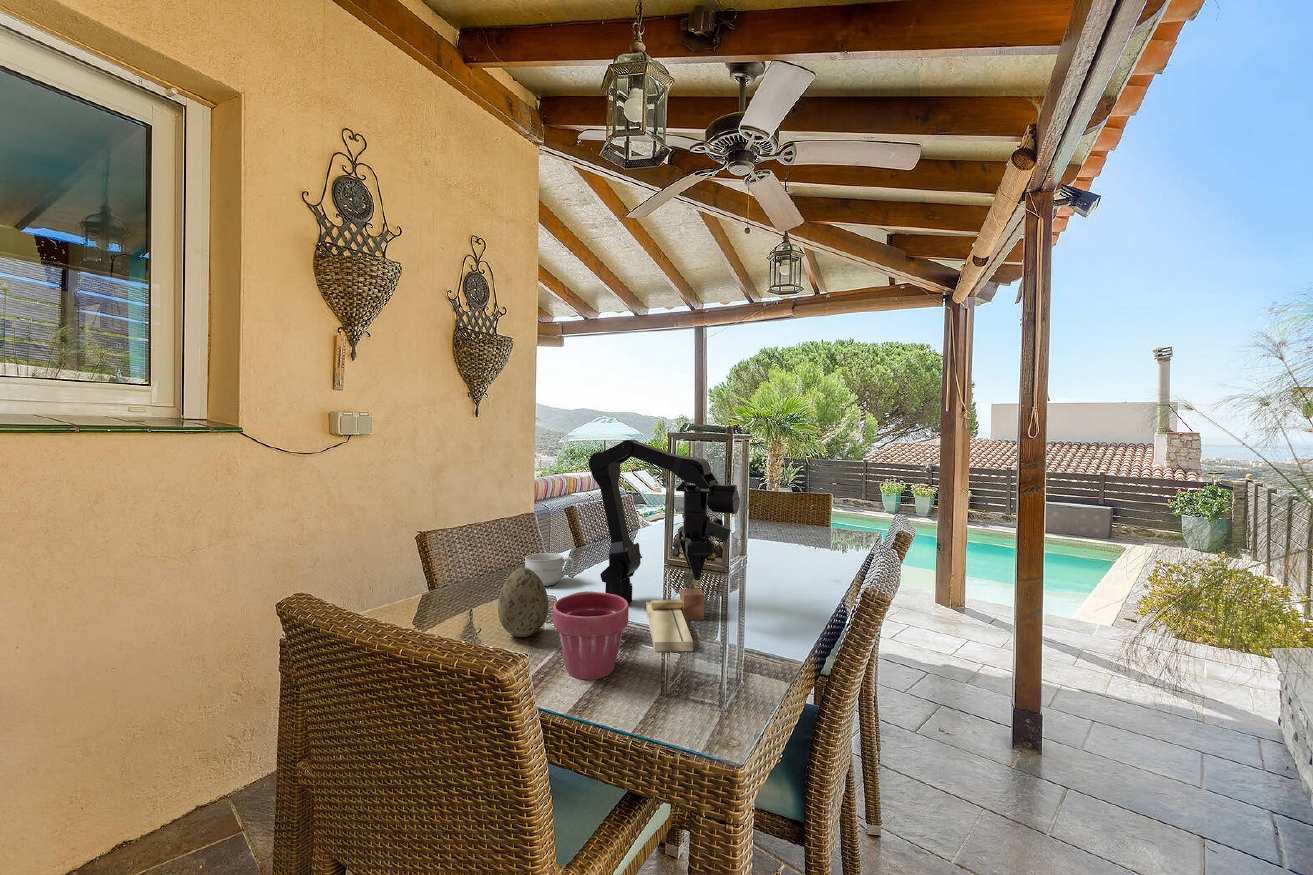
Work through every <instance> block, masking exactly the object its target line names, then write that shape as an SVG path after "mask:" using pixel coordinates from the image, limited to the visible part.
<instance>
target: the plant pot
mask: <svg viewBox="0 0 1313 875" xmlns="http://www.w3.org/2000/svg"><path fill="white" fill-rule="evenodd" d="M571 594H572V595H570V594H568V595H569V596H568V595H565V596H563V597H560V598H559V599H558V600H556V601H555V602H554V604H553V608H552V624H553V627H554V628H555V629H556V631H558V635H559V636H558V637H559V640H560V646H561V651H562V656H563V660H564V664H565V665H564V666H565V670H566V672H567V674H569V676H570V677H573V678H575V679H579V680H597V679H598V680H599V679H602V678H605V677H607V676H609V675H610V674H612V673H613V672H614V669H615V665H616V663H617V662H616V661H617V658H618V655H619V654H618V653H619V649H620V645H621V641H622V636H623V631H624V629H625V628H626V627H627V626H628V624H629V607H630V606H628V602H627V601H626V600H625V599H624V598H622V597H620V596H617V595H614V594H609V593H605V592H601V593H600V591H594V592H587V593H578V594H573V593H571Z"/></svg>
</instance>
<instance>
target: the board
mask: <svg viewBox="0 0 1313 875" xmlns="http://www.w3.org/2000/svg"><path fill="white" fill-rule="evenodd" d="M645 611H646V616H647V618H646V619H647V622H648V627H649V632H650V637H651V642H652V646H653V651H654V652H655V653H657V652H659V653H660V652H662V653H663V652H666V653H667V652H693V651H694V641H693V640H694V639H693V638H692V636H691V632H690V630H689V627H688V625H687V621H686V620H685V619H684V616H683V614H682V611H681V609H680V608H665V609H652V608H651V601H646V602H645Z"/></svg>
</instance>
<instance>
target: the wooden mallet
mask: <svg viewBox="0 0 1313 875" xmlns="http://www.w3.org/2000/svg"><path fill="white" fill-rule="evenodd" d="M650 602H651V608H652V609H665V608H680V609H681V611H682V614H683V616H684V619H685V621H695V620H697V621H699V620H700V621H702V620H703V621H704V619H705V594H704V592H703V591H702V589H701V588H680V589H679V599H658V600H657V599H656V600H655V599H654V600H653V599H652V600H650Z"/></svg>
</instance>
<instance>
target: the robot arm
mask: <svg viewBox="0 0 1313 875" xmlns="http://www.w3.org/2000/svg"><path fill="white" fill-rule="evenodd" d="M630 458H635V459H637V460H640V461H643V462H646V463H649V464H652V465H654V466H657V467H660V468H662V469H666V470H667V471H670V472H671V473H673V475H675V476H676V477H677V478H679V479H680V480H682V481H681V483H680V484H679V485H678V486H677V487H676V488H675V491H676V492H683V512H682V513H681V515H682V516H681V517H682V519H683V521H682V525H681V526H680V527H679V528H678V529H677V538H678V540H677V541H678V542H679V544H680V548H681V551H682V553H683V556H684V558H685V562H686V565H687V567H688V570H691V573H692V575H693V578H694V580H695V581H700V579H701V577H702V572H703V569H704V566H705V563H706V562H705V561H706V560H707V559H708V558H709V557H712V555H713V554H715V544H714V543H713V542H712V541H711V539H710V538H711V537H712V538H716V539H719V540H721V541H722V542H724V543H727V541H728V539H729V537H730V534H731V532H732V530H731V528H730V527H729V526H726V525H725V524H724V522H723V521H724V520H722V519H720V518H718V517H715V518H714V519H713V520H711V517H710V516H709V514H708V509H709V510H710V511H711V512H712V513H719V514H730V515H737V514H738V512H739V509H740V501H741V498H740V495H739V491H738V485H737V484H720V483H719V482H718V480H717V478H716V477H715V475H714V473H713V472H712V468H711V465H710V463H709V461H708V460H707V459H705V458H702V457H695V456H691V455H690V456H687V455H680V454H676V453H672V452H669V451H667V450H663V449H660V448H659V447H658V448H657V447H656V446H652V445H649V444H646V443H644V442H641V441H638V440H636V439H625V440H623V441H621V442H620V443H618V444H617V445H614V446H612V447H610V448H607V449H606V450H603V451H597V452H594V453H593V454H592V455H591V456H590V458H589V459H588V467H589V470H590V473H591V476H592V478H593V480H594V481H595V483H596V484H597V485H598V487H599V489H600V493H601V499H602V503H603V508H604V514H605V519H606V523H607V528H608V534H609V538H610V547H609V551H608V566H607V567H606V568H605V569H604V570H603V571H602V572H601V573H600V574H599V576H600V579H601V582H602V583H605V592H604V593H609V594H614V595H617V596H620V597H622V598H624V599H625V600H626V601H627V602H628V606H629V607H631V603H632V602H633V583H632V582H631V577H634V574H635V572H636V571H637V570H638V569H639V567H640V566H641V559H642V558H643V556H642V554H641V552H640V551H641V550H640V544H639V542H636V543H634V542H633V541H632V539H631V537H630V535H629V529H628V525H627V519H626V515H625V510H624V504H623V500H622V496H621V491H620V487H619V482H620V476H621V464H623V463H625V462H627V461H628V460H629V459H630Z"/></svg>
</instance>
